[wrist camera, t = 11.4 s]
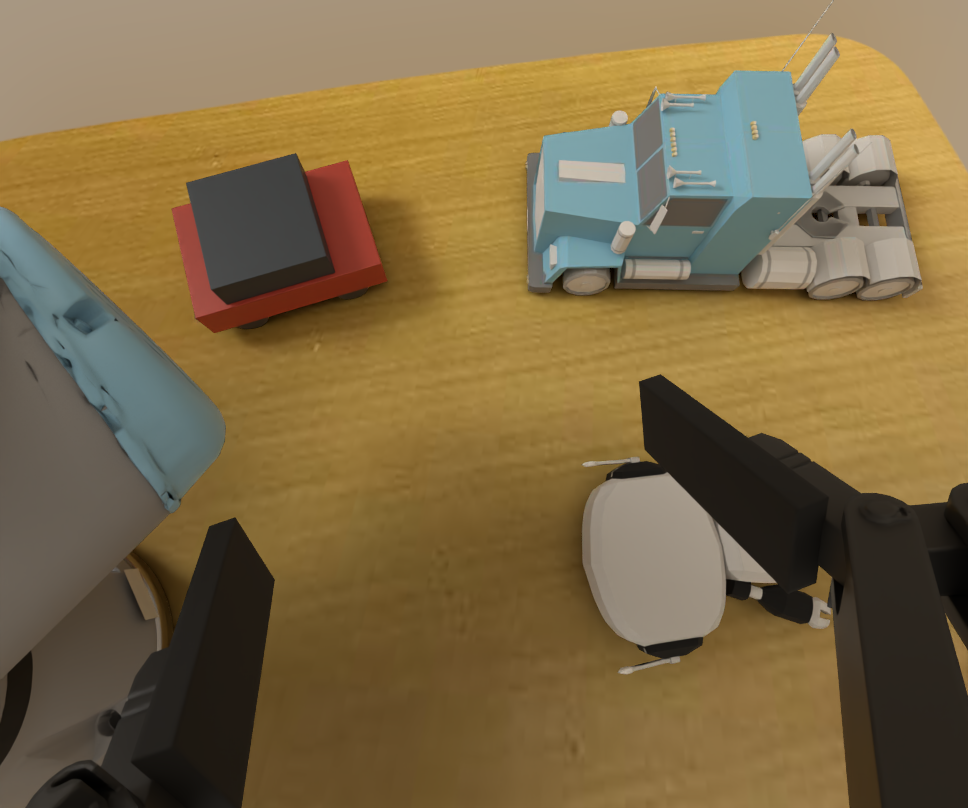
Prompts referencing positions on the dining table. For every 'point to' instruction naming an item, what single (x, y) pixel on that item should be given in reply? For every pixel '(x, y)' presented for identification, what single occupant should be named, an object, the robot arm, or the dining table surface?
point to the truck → (720, 198)
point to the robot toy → (670, 565)
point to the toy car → (274, 241)
